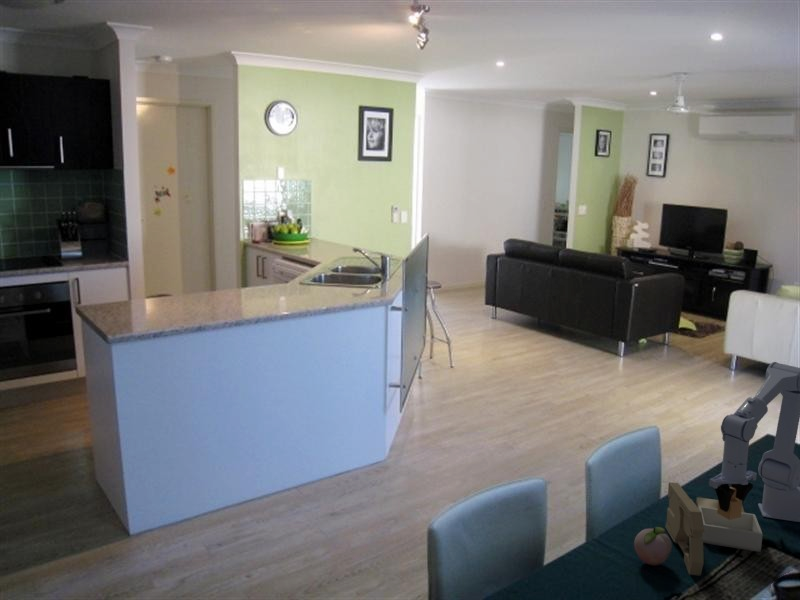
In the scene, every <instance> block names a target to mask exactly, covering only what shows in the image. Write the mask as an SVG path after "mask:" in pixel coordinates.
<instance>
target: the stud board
mask: <svg viewBox="0 0 800 600" xmlns="http://www.w3.org/2000/svg"><path fill="white" fill-rule="evenodd" d="M695 501H696V503H695V504H696V506H697V507H699V506H702V507H709V508H715V509H718V499H714V498H713V499H711V498H706V497H698V496H697V497H696V500H695ZM741 512H743V513H746V512H745V510H744V507H743V505H742V511H741Z"/></svg>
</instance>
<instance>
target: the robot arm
mask: <svg viewBox="0 0 800 600" xmlns="http://www.w3.org/2000/svg"><path fill="white" fill-rule="evenodd" d="M764 379H765V381H764V382H763V384H762V385H761V386H760V388H759V390H758V391H757V392H756V394H755V395H754V396H749V397H747V398H746V399H745V400H744V402H742V404H741V405H739V407H738V409H736V410H735V412H734V413H731V414H727V415H725V416H724V417H723V419H722V421H721V425H720V431H721V434H722V438H721V439H722V441H723V442H724V444H723V453H722V463H721V464H722V465H721V472H720V473H719V474H717V475H715V476H714V477H711V478H709V480H708V481H709V482H708V486H709V487H711V488H713V490H714V492H715V493H716V497H717V500H718V501H719V506H720V509H721V510H723V511H725V512H728V510H729V506H730V500H731V497H732V495H733V493H734V492H735V490H733V489H731V488H730V487H733V488H735V489H736V497H737V498H739V499H741V500H742V505H743V504H744V502H745V499H746V497H747V496H748V494H749V493H750V492H751V491H752V490H753V488H754V485H753V483H752V482H749V481H756V480H757V474H758V476H759V477H760V478H761V479H762V480H761V481H762V482H763V493H762V503H758V504H757V506H758V508H759V511H760V513H761V516H762V517H763V518H770V519H776V520H783V521H791V522H795V523H797V522H798V523H800V459H799V457H798V456H797V455H796V454H795V453H794V452H795V445H796V440H797V436H798V435H797V434H798V429H799V423H800V367H797V366H793V365H789V364H788V365H787V364H783V363H779V362H777V361H773V362H771V363H770V364H769V365H768V366H767V368H766V371H765V377H764ZM779 394H781V396H782V399H781V405H780V411H779V416H778V421H777V425H776V426H777V428H776V432H775V437H774V444H773V449H770V450H768V451H765V452H764V453H763V454H762V456H761V457H762V458H761V460H760V462H759V463H758V468H757V469H758V470H757V471H758V473H757V472H755V471H753V470H747V468H748V457H749V456H748V455H749V447H750V441H751V440H752V439H753V438H754V436H755V433H756V431H757V429H758V424H759V423H760V421H761V420H762V419H763V417H765V415H766V414H767V413H768V411H769V409H768V405H770V403H771V402H772V401H773V400H775V398H777V397H778V395H779ZM730 485H731V486H730Z"/></svg>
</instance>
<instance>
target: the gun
mask: <svg viewBox="0 0 800 600" xmlns="http://www.w3.org/2000/svg"><path fill="white" fill-rule="evenodd" d="M667 490H668V491H667V498H668V499H669V501H668V507H667V509H666V522H665V525H664V527H665V528H664V529H666V531H667V534H668V535H669V536H670V537H671V539H672V541H673V542H674V544H675V545H678V546H679V548H680V549H681V551H682V553H683V562H684V564H685V567H686V570H687V573H688V575H689V576H690V575H691V576H702V572H703V567H704V543H703V539H702V538H701V537H702V532H704V524H703V519H702V513H701V511H700V510H699V508H698V507H697V504H696V503H695V502H694V501H693V499H692V498H690V496H689V495H688V494H687V492H686V491H685V490H684V489H683V488H682V486H681V485H680V484H679V482H670V481H669V482H668V488H667Z"/></svg>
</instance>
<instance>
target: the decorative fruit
mask: <svg viewBox="0 0 800 600" xmlns="http://www.w3.org/2000/svg"><path fill="white" fill-rule="evenodd" d="M665 529H666V528H663V527H660V526H655V527H653V528H644V529H641V531H639V532H638V533H637V535H636V536H635V538H634V542H633V546H634V547H633V548H634V550H635V552H636V554H637V556H638V557H639V559H640V560H641V561H642V562H644V563H645V564H646V565H648V566H649V565H650V566H653V567H654V566H659V565H662V564H663V563H664V562H665V561H666V559H667V558H669V556H670V553H671V551H672V546H673V545H672V541H671V539H670V537H669V535H668V534H666V530H665Z"/></svg>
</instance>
